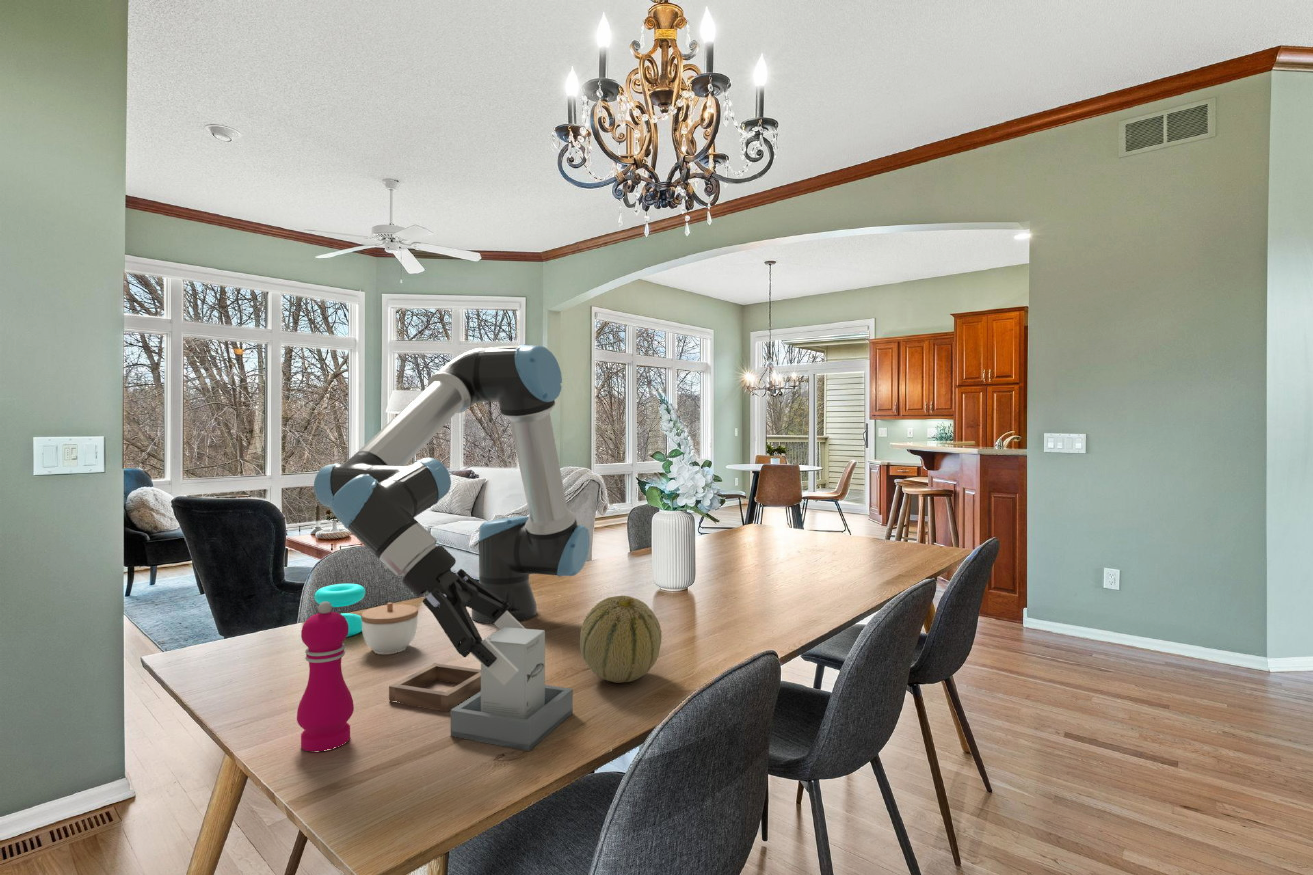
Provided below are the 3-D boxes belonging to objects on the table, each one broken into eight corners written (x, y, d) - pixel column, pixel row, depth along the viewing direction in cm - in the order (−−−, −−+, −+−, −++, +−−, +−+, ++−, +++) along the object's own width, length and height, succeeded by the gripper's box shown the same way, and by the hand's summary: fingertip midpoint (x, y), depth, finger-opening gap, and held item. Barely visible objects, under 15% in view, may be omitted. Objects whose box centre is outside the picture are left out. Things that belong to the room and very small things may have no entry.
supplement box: (525, 731, 95) (524, 644, 95) (479, 725, 97) (478, 639, 97) (546, 710, 103) (546, 629, 102) (503, 705, 104) (503, 625, 104)
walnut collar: (434, 676, 119) (434, 662, 119) (489, 685, 115) (489, 670, 115) (389, 701, 108) (388, 686, 108) (447, 711, 104) (447, 695, 104)
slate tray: (501, 701, 108) (501, 678, 108) (572, 712, 103) (572, 688, 103) (450, 736, 96) (450, 710, 96) (529, 750, 91) (529, 723, 91)
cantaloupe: (609, 659, 128) (609, 581, 127) (676, 673, 120) (676, 591, 120) (561, 685, 115) (561, 598, 115) (633, 702, 107) (633, 610, 107)
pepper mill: (310, 731, 97) (309, 595, 97) (361, 729, 98) (360, 594, 98) (287, 755, 90) (286, 609, 90) (342, 753, 91) (341, 607, 90)
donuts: (317, 584, 147) (366, 580, 151) (318, 628, 148) (366, 624, 151) (311, 594, 138) (363, 590, 141) (311, 642, 138) (363, 637, 142)
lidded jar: (428, 648, 134) (427, 602, 134) (375, 662, 126) (375, 613, 126) (403, 637, 141) (403, 593, 141) (352, 649, 133) (351, 603, 133)
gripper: (430, 561, 112) (519, 649, 112) (366, 601, 87) (482, 714, 87) (461, 530, 111) (551, 618, 112) (406, 560, 87) (522, 673, 87)
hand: (521, 660), depth 99 cm, fingers open, 13 cm apart
